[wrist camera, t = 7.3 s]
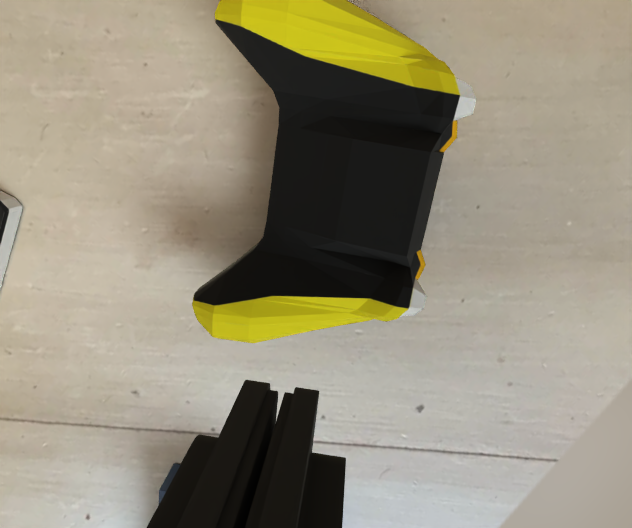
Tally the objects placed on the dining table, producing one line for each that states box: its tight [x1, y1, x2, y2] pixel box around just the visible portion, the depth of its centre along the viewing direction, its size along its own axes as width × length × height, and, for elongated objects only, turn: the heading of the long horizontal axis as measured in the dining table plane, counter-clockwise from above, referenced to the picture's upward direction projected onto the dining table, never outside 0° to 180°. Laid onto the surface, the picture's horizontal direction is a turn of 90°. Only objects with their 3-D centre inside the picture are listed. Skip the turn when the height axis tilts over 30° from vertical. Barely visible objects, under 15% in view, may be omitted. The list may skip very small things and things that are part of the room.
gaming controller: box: [192, 0, 476, 343], centre depth 19 cm, size 15×6×10 cm
